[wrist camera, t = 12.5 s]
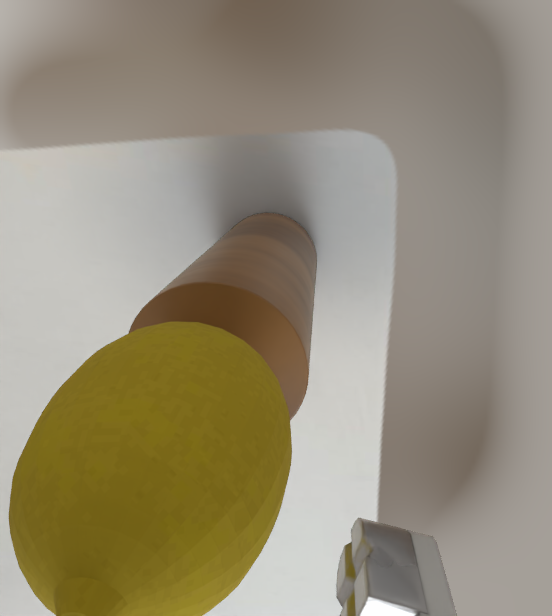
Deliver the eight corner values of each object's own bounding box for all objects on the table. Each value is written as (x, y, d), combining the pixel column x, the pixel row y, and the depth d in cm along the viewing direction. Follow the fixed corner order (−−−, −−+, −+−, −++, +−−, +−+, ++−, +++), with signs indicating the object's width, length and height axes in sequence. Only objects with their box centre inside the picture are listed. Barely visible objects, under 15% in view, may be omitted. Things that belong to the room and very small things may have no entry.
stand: (231, 201, 26) (133, 259, 12) (327, 226, 25) (330, 310, 12) (214, 292, 28) (116, 422, 15) (303, 315, 28) (284, 466, 15)
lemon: (140, 261, 12) (-131, 430, 5) (321, 310, 12) (316, 554, 5) (121, 412, 15) (-92, 689, 7) (276, 455, 14) (225, 779, 7)
